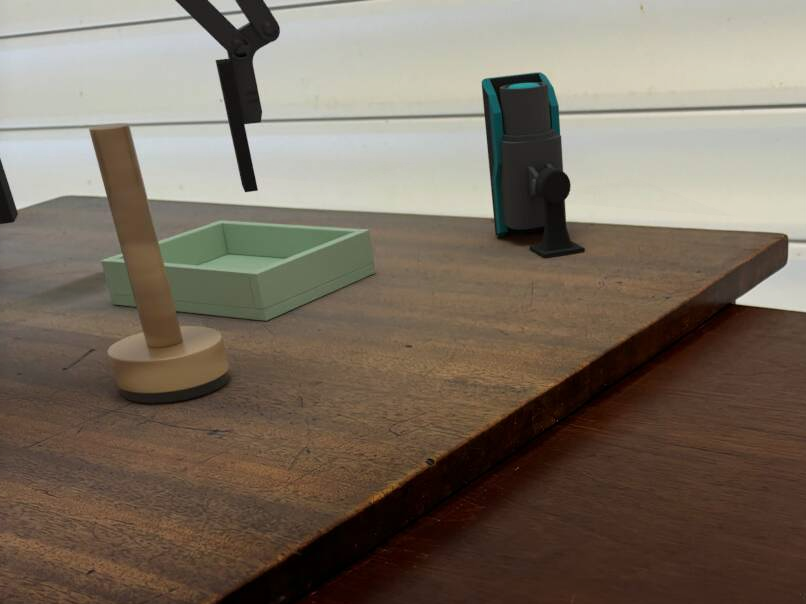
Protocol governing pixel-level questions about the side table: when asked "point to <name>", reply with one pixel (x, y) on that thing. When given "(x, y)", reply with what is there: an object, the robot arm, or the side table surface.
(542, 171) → the surveillance camera
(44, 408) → the side table surface
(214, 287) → the tray
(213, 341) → the peg on round base
